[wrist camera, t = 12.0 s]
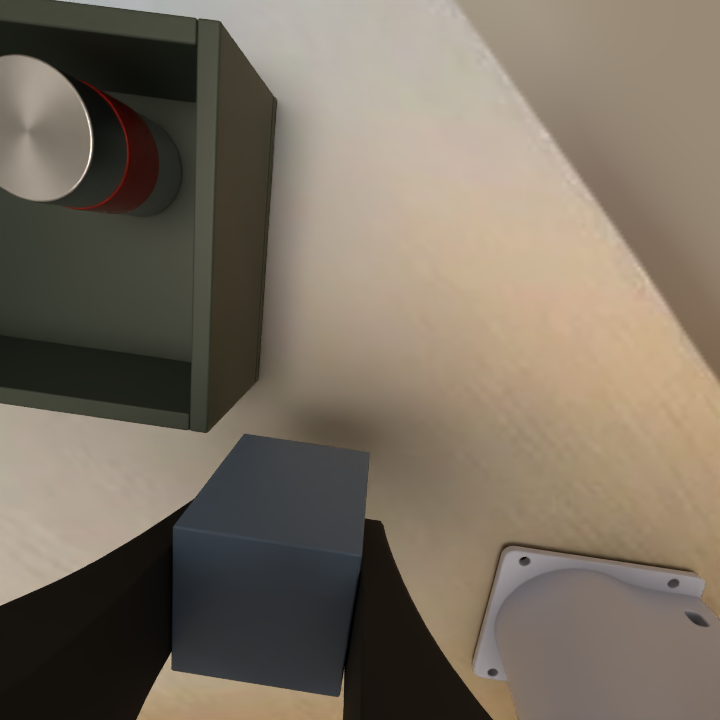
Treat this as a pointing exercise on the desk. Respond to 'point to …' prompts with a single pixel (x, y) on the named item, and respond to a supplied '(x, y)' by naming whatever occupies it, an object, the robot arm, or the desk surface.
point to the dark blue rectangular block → (271, 566)
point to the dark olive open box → (143, 231)
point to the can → (80, 144)
